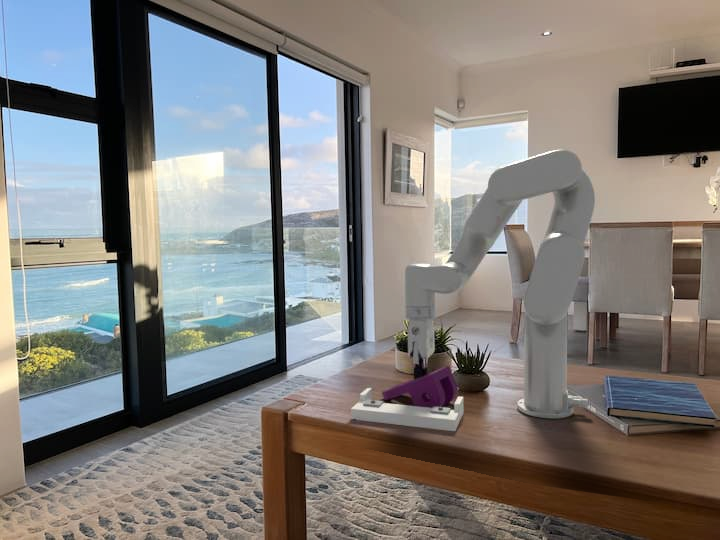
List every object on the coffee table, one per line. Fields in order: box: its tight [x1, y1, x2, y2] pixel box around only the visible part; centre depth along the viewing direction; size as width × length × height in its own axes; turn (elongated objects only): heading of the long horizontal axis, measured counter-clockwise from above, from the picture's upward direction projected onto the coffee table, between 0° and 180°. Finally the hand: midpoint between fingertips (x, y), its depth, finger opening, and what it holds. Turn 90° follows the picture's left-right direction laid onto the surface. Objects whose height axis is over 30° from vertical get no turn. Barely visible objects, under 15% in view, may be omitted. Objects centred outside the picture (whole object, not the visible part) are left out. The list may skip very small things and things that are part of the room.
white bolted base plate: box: [350, 387, 464, 432], centre depth 119 cm, size 24×12×4 cm, turn 70°
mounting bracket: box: [381, 365, 459, 408], centre depth 128 cm, size 10×8×18 cm
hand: (420, 382), depth 131 cm, fingers closed
